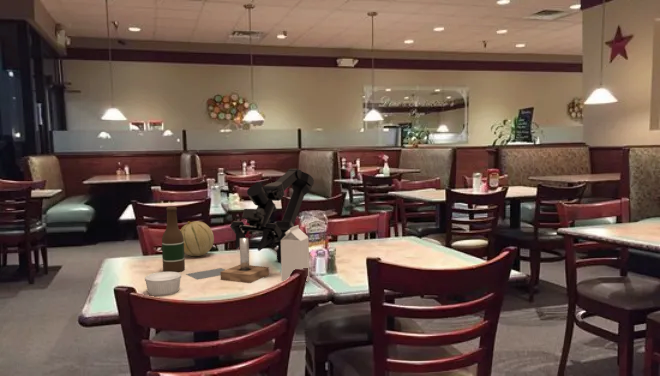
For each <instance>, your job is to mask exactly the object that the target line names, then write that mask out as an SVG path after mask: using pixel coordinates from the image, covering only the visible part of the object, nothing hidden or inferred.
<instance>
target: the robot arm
mask: <svg viewBox="0 0 660 376" xmlns="http://www.w3.org/2000/svg"><path fill="white" fill-rule="evenodd" d="M290 186H291V187H292V193H291V196H290V199H289V202H288V203H287V207H286V210H285V212H284V215H283V217H282V219H281V220H277V221H276V222H275V223H274V222H273V223H271V221H272V220H271V219H270V218H271V215H272V214H273V212H276V211H277V210H278V209H277V206H276V203H274V202H275V201H276V202H279V201H281V199H282V198H283V197H284V196H285V191H286V190H287V189H288V188H289V187H290ZM313 186H314V178H313V176H312V175H311V174H309V173H306V172H304V171H302V170H301V169H300V168H289V169H288V170H287V171H286V172H285V173H284V174H283V175H282V176H280V177H279V178H278V179H277V180H276V181H275V182H270V183H267V184H265V185H263V183H262V182H259V181H256V182H255V184H252V185H251V186H249V188H247V191H246V193H247V196H248V197H249V199H250V200H251V201H252V202H253V204H254V205H255V206H257V207H256V208H255V209H253V208H250V209H249V208H244V209H243V213H242V219H244V220H246V223H247V224H249V225H247V224H245V223H244V222H243V221H240V220H239V221H237V220H234V221H232V222H231V223H230V228H231V230H232V231H233V232H234V234H235V245H234V248H235V249H236V250H238V249H240V238H247V237H246V235H247V234H248V232H255V233H262V237H261V239H260V242H259V244H258V246H257V251H258V252H260V251H261V250H263V249H264V248H265V247H266V246H268V245H269V244H270V243H272V242H273V246H275V247H276V246H277V248H276V261H277V262H278V263H281V239H282V238H283V237H285V236H286V234H285V233H286V232H287V231H288V230H290V228H292V227H295V223H296V221H297V216H298V214H299V211H300V208H301V206H302V203H303V200H304V198H305V196H306V195H307V194H309V192H310V191H311V190H312V188H313Z"/></svg>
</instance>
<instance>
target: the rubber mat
mask: <svg viewBox="0 0 660 376" xmlns="http://www.w3.org/2000/svg"><path fill="white" fill-rule="evenodd" d="M224 270H226V269H225V268H222V267H219V268H213V269H207V270H202V271H201V270H200V271H196V272H190V273H185V275H186V276H188V277H191V278H193V279H195V280H202V279H203V280H204V279H208V278H213V277H218V276H220V277H221V273H220V272H221V271H224Z"/></svg>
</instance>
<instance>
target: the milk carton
mask: <svg viewBox="0 0 660 376" xmlns="http://www.w3.org/2000/svg"><path fill="white" fill-rule="evenodd" d="M299 226H300V225H299V224H297V225H294V227H292V228H290V230H288V231H287V232H286V233H285V234H286V236H285V237H283V238H282V239H281V262H280V264H281V265H280V266H281V268H280V269H281V271H280V272H281V282H282V281H284V280H286V279H287V278H288V277H289V276H290V274H291V273H292V271H293V270H295V269H303V268H308V278H307V282H306V283H308V282H309V281H310V257H309V256H310V255H309V254H310V253H309V250H310V249H309V248H310V247H309V245H310V244H309V236H308V235H307V234H306V233H305V232H303V230H302V229H300V227H299Z"/></svg>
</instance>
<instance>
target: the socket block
mask: <svg viewBox="0 0 660 376" xmlns="http://www.w3.org/2000/svg"><path fill="white" fill-rule="evenodd" d="M220 273H221V275H220V280H221V281H228V282H237V283H247V284H251V283H254V282H256V281H259V280H261V279H263V278H266V277H269V276H270V267H269V266H259V265H250V264H249V271H241V264H240V263H239V264H238V265H236V266H235V265H234V266H233V267H230V268H227V269H225V270H224V271H221V272H220Z"/></svg>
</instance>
